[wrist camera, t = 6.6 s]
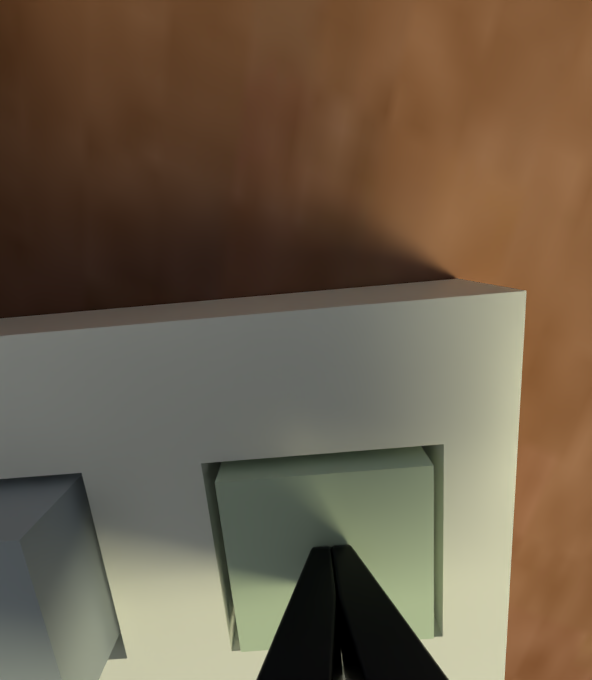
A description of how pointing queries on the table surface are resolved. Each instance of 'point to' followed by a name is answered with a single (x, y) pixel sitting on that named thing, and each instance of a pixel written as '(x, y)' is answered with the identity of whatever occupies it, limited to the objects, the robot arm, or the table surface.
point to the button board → (271, 444)
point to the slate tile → (52, 582)
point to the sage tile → (327, 529)
